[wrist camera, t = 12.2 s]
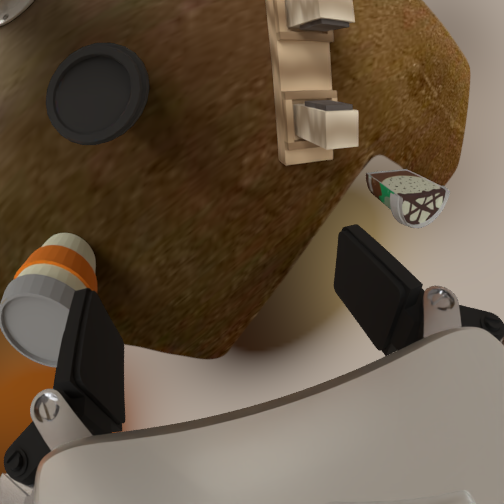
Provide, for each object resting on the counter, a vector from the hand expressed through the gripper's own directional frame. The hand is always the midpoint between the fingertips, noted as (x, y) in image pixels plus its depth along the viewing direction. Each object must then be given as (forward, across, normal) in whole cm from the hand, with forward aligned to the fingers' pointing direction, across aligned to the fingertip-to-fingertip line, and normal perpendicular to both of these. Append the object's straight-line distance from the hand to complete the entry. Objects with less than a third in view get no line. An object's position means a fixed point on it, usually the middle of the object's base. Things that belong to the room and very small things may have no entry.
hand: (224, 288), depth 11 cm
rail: (+28, -16, -8) cm, 33 cm away
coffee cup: (+28, +6, -8) cm, 30 cm away
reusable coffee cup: (+28, +20, +12) cm, 37 cm away
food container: (+28, -32, +12) cm, 44 cm away
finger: (+26, -16, -1) cm, 30 cm away
